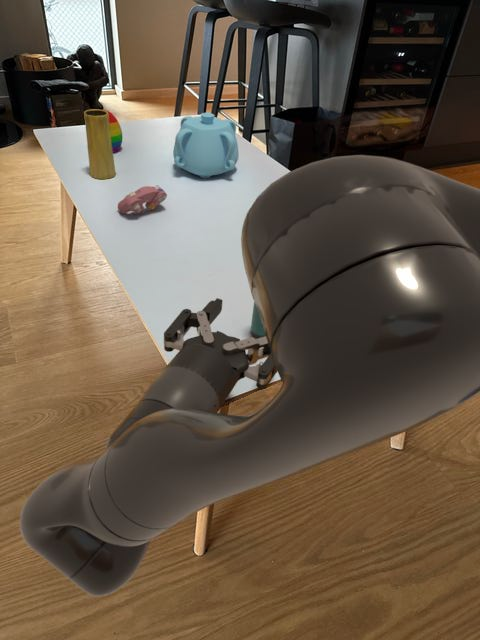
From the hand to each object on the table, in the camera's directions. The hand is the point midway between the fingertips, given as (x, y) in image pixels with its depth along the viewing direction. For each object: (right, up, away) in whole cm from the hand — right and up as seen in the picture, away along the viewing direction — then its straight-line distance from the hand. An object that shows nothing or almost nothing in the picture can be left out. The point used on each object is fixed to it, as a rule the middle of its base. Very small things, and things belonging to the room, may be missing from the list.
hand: (248, 314), depth 62 cm
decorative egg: (-37, +45, +63) cm, 86 cm away
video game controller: (-22, +23, +38) cm, 49 cm away
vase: (-34, +34, +51) cm, 70 cm away
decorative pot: (-10, +38, +58) cm, 70 cm away
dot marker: (+2, -3, +10) cm, 11 cm away
